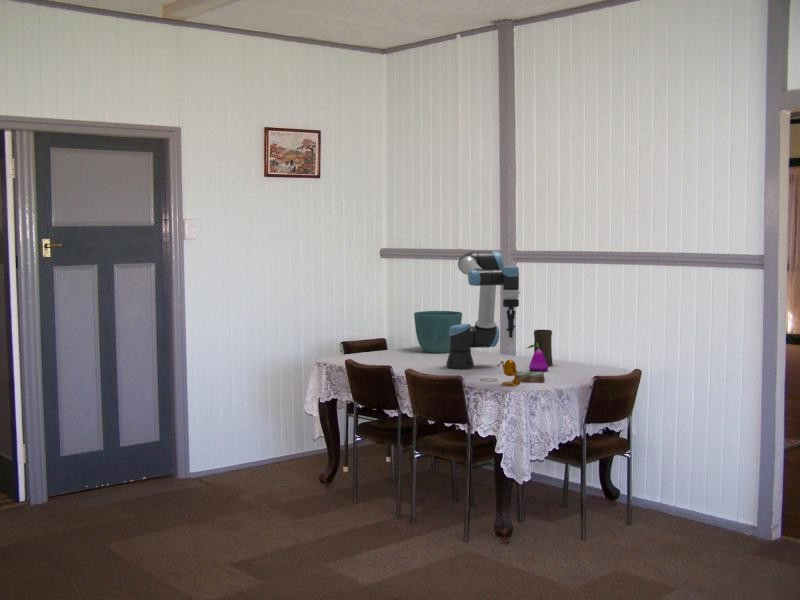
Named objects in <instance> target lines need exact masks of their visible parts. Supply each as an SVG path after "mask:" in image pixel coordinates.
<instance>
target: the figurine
mask: <svg viewBox="0 0 800 600" xmlns="http://www.w3.org/2000/svg"><path fill="white" fill-rule="evenodd" d="M500 365H502V370H503V374H504V375H505V376H507V377H512V376H513V377H514V378H513V380H511V381H503V382H502V383H501V385H503V386H507V387H516V386H519V385H520V384H521V382H519V381H517V375H516V372H518V370H517V365H516V362H515V361H514V360H512V359H508V360H506V361H505V362H504V361H500V363H499V364H497V367H500Z"/></svg>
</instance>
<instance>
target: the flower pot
mask: <svg viewBox="0 0 800 600" xmlns="http://www.w3.org/2000/svg"><path fill="white" fill-rule="evenodd" d="M413 316H414V317H413V318H414V325H415V334H416V338H417V342H418V345H419V346H420V348H421V349H422V351H423V352H424V353H431V354H445V353H449V331H450V328H451V327H452V326H454V325H459V324H462V321H463V312H461V311H453V310H423V311H416V312H413Z"/></svg>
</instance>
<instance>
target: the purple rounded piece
mask: <svg viewBox="0 0 800 600" xmlns="http://www.w3.org/2000/svg"><path fill="white" fill-rule="evenodd" d="M536 345H537V346H535V345H534V344H531V345H529V346H528V347H526V349H530V348H531V349H532V348H534V347H537V348H538V349H537V350H536V351H535V352H534V351H533V355H532V357H531V359H530V363H529V366H528V369H529V370H530V371H529V372H547V371H548V369H549V367H548V366H547V363H546V361H545V358H544V355H543V353H542V351H541V350H540V349H539V346H538V343H536Z"/></svg>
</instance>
